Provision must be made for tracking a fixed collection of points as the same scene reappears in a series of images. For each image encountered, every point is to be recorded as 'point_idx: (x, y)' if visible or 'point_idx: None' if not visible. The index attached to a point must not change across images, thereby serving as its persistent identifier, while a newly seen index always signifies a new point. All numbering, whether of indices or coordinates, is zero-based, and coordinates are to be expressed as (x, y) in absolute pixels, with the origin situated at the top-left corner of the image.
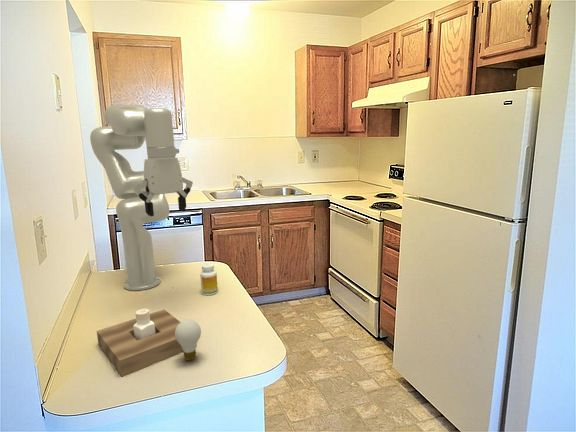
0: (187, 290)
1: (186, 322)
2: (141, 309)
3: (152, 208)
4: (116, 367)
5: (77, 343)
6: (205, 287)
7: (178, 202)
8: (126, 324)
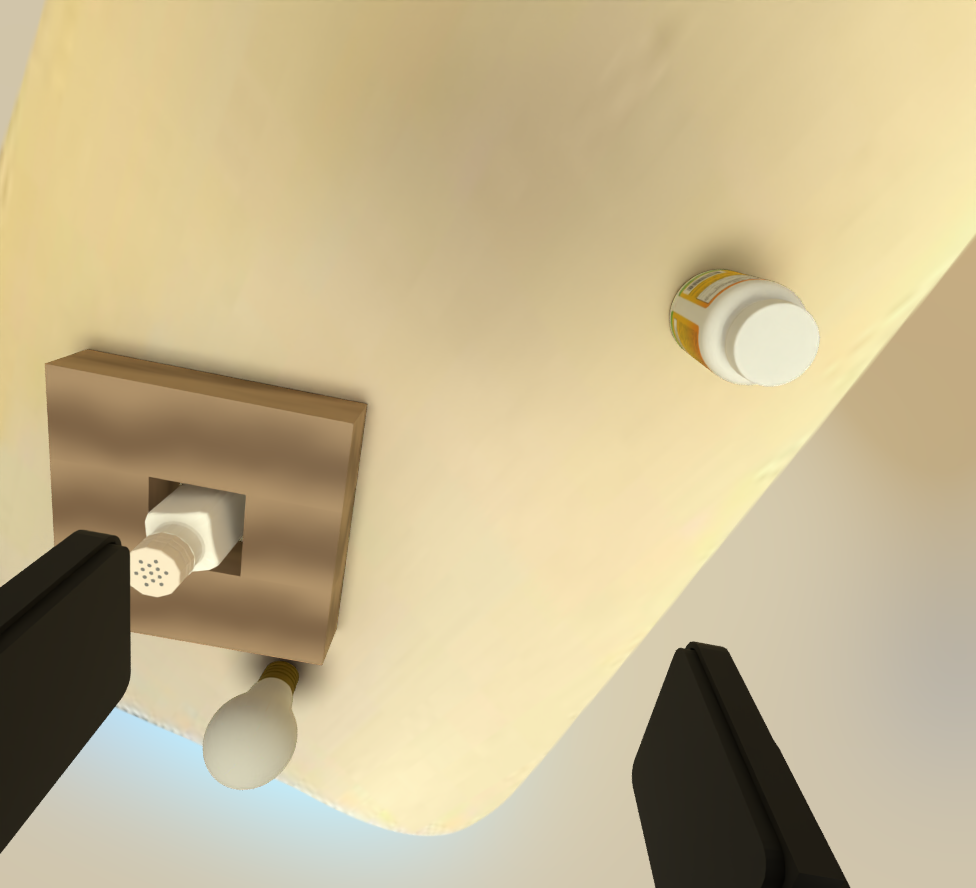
0: (672, 174)
1: (227, 781)
2: (156, 553)
3: (26, 800)
4: None
5: (22, 258)
6: (682, 339)
7: (721, 758)
8: (164, 415)
